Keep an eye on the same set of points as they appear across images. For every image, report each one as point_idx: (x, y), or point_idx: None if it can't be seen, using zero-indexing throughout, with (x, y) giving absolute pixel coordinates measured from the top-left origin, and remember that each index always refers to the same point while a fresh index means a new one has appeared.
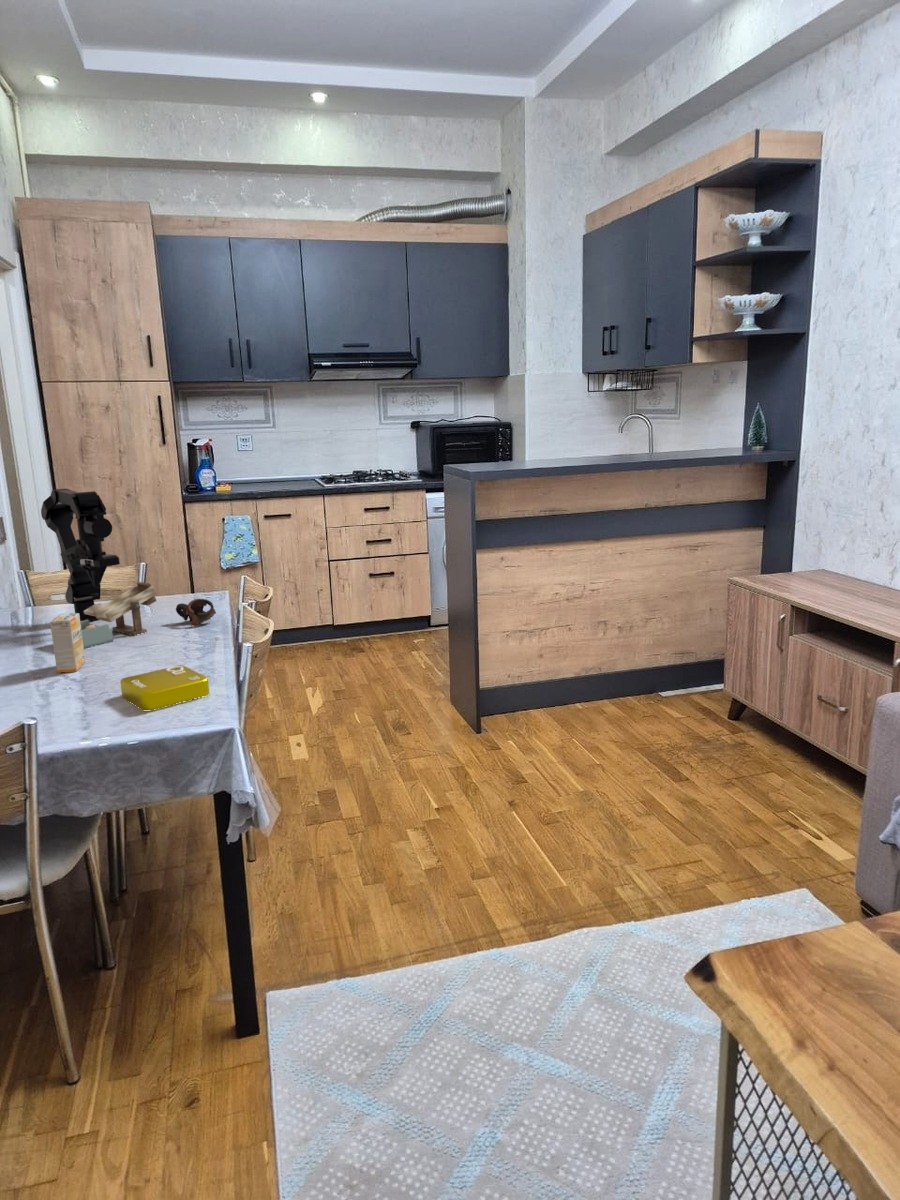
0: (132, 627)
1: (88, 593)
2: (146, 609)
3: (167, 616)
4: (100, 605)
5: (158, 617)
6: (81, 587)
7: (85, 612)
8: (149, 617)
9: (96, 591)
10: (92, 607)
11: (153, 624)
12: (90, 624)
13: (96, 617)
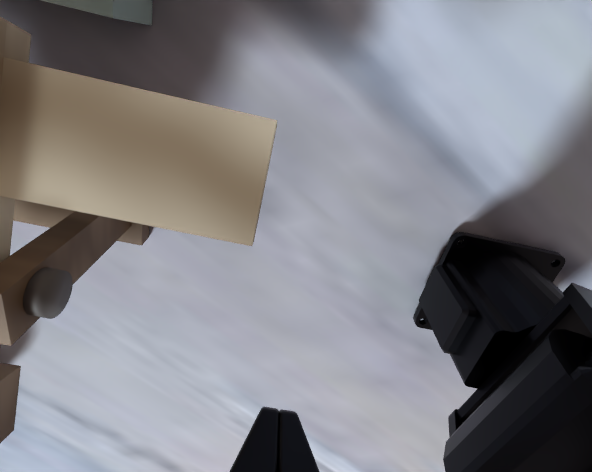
0: (37, 210)
1: (489, 404)
2: (336, 460)
3: (157, 413)
4: (156, 224)
5: (178, 397)
6: (559, 429)
7: (249, 116)
8: (215, 389)
9: (449, 448)
10: (223, 187)
11: (82, 317)
12: (107, 8)
13: (10, 25)
